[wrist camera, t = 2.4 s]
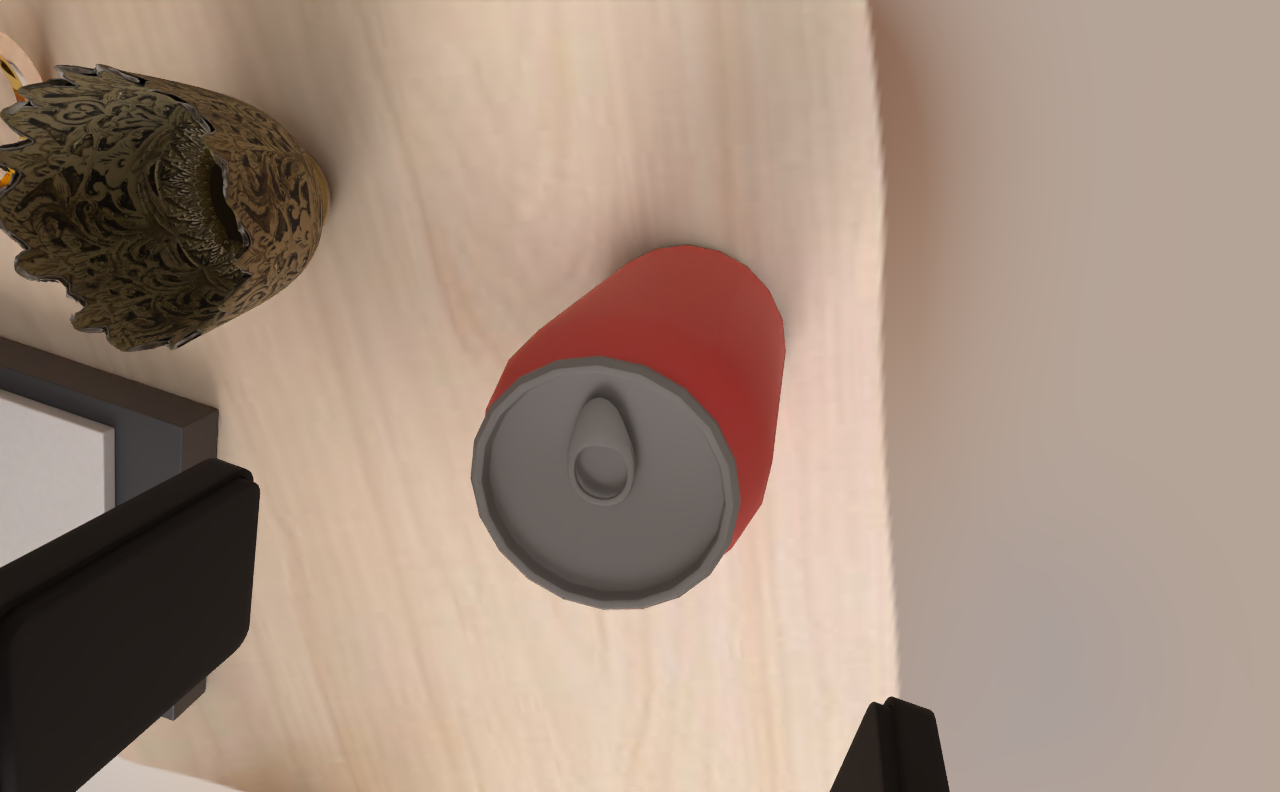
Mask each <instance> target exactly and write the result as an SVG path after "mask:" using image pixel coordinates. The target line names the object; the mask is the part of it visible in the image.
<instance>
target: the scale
mask: <svg viewBox="0 0 1280 792" xmlns="http://www.w3.org/2000/svg"><path fill="white" fill-rule="evenodd" d="M217 429H218V410H217V409H214V408H211V407H208V406H205V405H202V404H199V403H196V402H193V401H190V400H187V399H184V398H181V397H178V396H175V395H172V394H169V393H166V392H163V391H160V390H157V389H154V388H151V387H148V386H145V385H142V384H139V383H136V382H133V381H130V380H127V379H124V378H121V377H118V376H115V375H112V374H109V373H106V372H103V371H100V370H97V369H94V368H91V367H88V366H85V365H82V364H79V363H76V362H73V361H70V360H67V359H64V358H61V357H58V356H55V355H52V354H49V353H46V352H43V351H41V350H38V349H35V348H32V347H29V346H26V345H23V344H20V343H17V342H14V341H11V340H8V339H5V338H2V337H0V568H1V567H2V566H4V565H6V564H8V563H10V562H12V561H14V560H16V559H18V558H20V557H21V556H23V555H25V554H27V553H29V552H31V551H33V550H35V549H37V548H39V547H40V546H42V545H44V544H46V543H48V542H50V541H52V540H54V539H56V538H58V537H59V536H61V535H63V534H65V533H67V532H69V531H71V530H73V529H75V528H77V527H78V526H80V525H82V524H84V523H86V522H88V521H90V520H92V519H94V518H96V517H97V516H99V515H101V514H103V513H105V512H107V511H109V510H111V509H113V508H115V507H116V506H118V505H120V504H122V503H124V502H126V501H128V500H130V499H132V498H134V497H135V496H137V495H139V494H141V493H143V492H145V491H147V490H149V489H151V488H153V487H154V486H156V485H158V484H160V483H162V482H164V481H166V480H168V479H170V478H172V477H173V476H175V475H177V474H179V473H181V472H183V471H185V470H187V469H189V468H191V467H193V466H194V465H196V464H198V463H200V462H202V461H204V460H207V459H210V458H215V459H216V450H217ZM205 678H206V677H205ZM205 678H204V679H203V680H202V681H201V682H200V683H199V684H197V685H196V686H195V687H194V688H193V689H192V690H191V691H189V692H188V693H187V694H186V695H185V696H184V697H183V698H182V699H180V700H179V701H178V702H177V703H176V704H175V705H174V706H172V707H171V708H170V709H169V710H168V711H167V712H166V713H164V714H163V715H162V717H165V718H167V719H170V720H172V721H174V720H175V719H176V718H177V717H178V716H180V715H181V714H182V713H183V712H184V711H185V710H186V709H187V708H188V707H189V706H190V705H191V704H192V703H193V702H194V701H196V700H197V699H198V698H199V697H200V696H201V695H202V694H203V693H204V692H205Z"/></svg>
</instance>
